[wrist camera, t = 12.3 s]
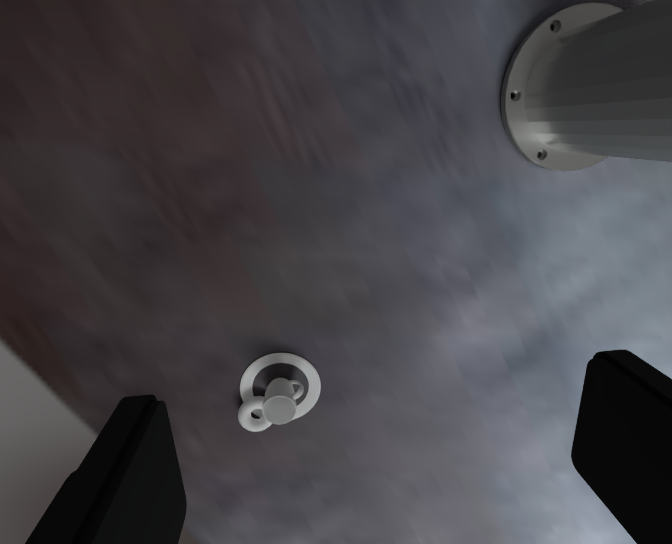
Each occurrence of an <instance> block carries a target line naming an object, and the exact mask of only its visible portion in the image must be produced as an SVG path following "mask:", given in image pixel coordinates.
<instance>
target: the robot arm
mask: <svg viewBox="0 0 672 544" xmlns="http://www.w3.org/2000/svg"><path fill="white" fill-rule="evenodd" d="M550 26H551V29H550ZM511 93H512V94H513V97H512V99H511ZM501 114H502V120H503V124H504V128H505V131H506V133H507V135H508V137H509V140H510V142H511V143H512V145H513V146H514V147H515V149H516V150H517V151H518V153H519V154H521V155H522V156H523V157H524V158H525V159H527V160H528V161H529V162H531V163H533V164H535V165H537V166H539V167H542V168H546V169H550V170H558V171H574V170H580V169H583V168H587V167H590V166H593V165H595V164H597V163H599V162H601V161H603V160H604V159H606V158H607V157H609V156H611V157H622V158H633V159H644V160H655V161H666V162H672V0H653V1H650V2H647V3H644V4H641V5H638V6H636V7H633V8H630V9H627V10H623V9H621V8H619V7H616V6H613V5H610V4H608V3H598V2H588V3H582V4H576V5H574V6H571V7H568V8H566V9H563V10H561V11H559V12H557V13H555V14H553V15H551V16H549V17H547V18H546V19H545V20H543V21H542V22H541V23H539V24H538V25H537V26H536V27H535V28H534V29H533V30H532V31H531V32H530V33H529V34H528V35H527V36H526V37H525V38H524V39H523V41H522V42H521V44H520V45H519V47H518V48H517V50H516V51H515V53H514V55H513V57H512V59H511V61H510V63H509V66H508V68H507V71H506V74H505V78H504V81H503V85H502V94H501ZM538 152H539V155H538V156H537V154H538ZM571 457H572V462H573V465H574V467H575V469H576V470H577V472H578V473H579V474H580V475H581V477H582V478H583V479H584V480H585V481H586V483H587V484H588V485H589V486H590V487H591V489H592V490H593V491H594V492H595V493H596V495H597V496H598V497H599V498H600V499H601V501H602V502H603V503H604V504H605V506H606V507H607V508H608V509H609V510H610V512H611V513H612V514H613V515H614V516H615V518H616V519H617V520H618V521H619V522H620V524H621V525H622V526H623V527H624V528H625V530H626V531H627V532H628V533H629V535H630V536H631V537H632V538H633V539H634V541H635V542H636V543H637V544H672V379H671V378H669V377H668V376H666V375H665V374H663V373H661V372H660V371H658V370H657V369H655V368H654V367H652V366H651V365H649V364H648V363H646V362H645V361H643V360H642V359H640V358H639V357H637V356H636V355H634V354H633V353H631V352H630V351H627V350H612V351H602V352H598V353H596V354H595V355H594V357H593V359H591V360H590V361H589V362H588V364H587V369H586V374H585V380H584V385H583V391H582V396H581V402H580V407H579V413H578V418H577V424H576V429H575V435H574V441H573V446H572V452H571ZM185 515H186V495H185V491H184V486H183V481H182V477H181V472H180V468H179V463H178V458H177V454H176V449H175V445H174V440H173V435H172V431H171V426H170V422H169V417H168V412H167V408H166V404H165V402H164V401H157V399H156V397H155V396H154V395H142V396H131V397H124V398H123V399H122V400H121V401H120V402H119V404H118V405H117V407H116V409H115V410H114V412H113V413H112V415H111V417H110V418H109V420H108V421H107V423H106V425H105V426H104V428H103V429H102V431H101V433H100V434H99V436H98V437H97V439H96V441H95V442H94V444H93V445H92V447H91V449H90V450H89V452H88V453H87V455H86V456H85V458H84V460H83V461H82V463H81V464H80V466H79V468H78V469H77V470H76V471H74V472H73V473H71V474H70V476H69V477H68V478H67V479H66V480H65V482H64V484H63V485H62V487H61V488H60V490H59V491H58V493H57V494H56V496H55V498H54V499H53V501H52V502H51V504H50V505H49V507H48V508H47V510H46V512H45V513H44V515H43V516H42V518H41V519H40V521H39V523H38V524H37V526H36V527H35V529H34V531H33V532H32V533H31V535H30V537H29V538H28V540H27V541H26V543H25V544H178V541H179V538H180V534H181V530H182V527H183V523H184V520H185Z"/></svg>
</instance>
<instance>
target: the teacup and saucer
mask: <svg viewBox="0 0 672 544" xmlns="http://www.w3.org/2000/svg"><path fill="white" fill-rule="evenodd" d="M275 363H288V364H291V365H294V366H296V367H298V368H299V369H301V370H302V371H303V372H304V373H305V375H306V377H307V379H308V382H309V391H308V394H307V396H306V398H305V399H304V401H303V402H302V403H301V404H299V405H298V406H297V407H296V399H297V398H299V397H300V396H301V395H302V393H303V391H304V387H303V385H302V384H301V383H300V382H299V381H297V380H290V381H289V380H287V379H285V378H276V379H274V380H272V381H271V382H270V384H269V385H268V387H267V389H266V392H265V396H264V397H263V396H254V395H253V391H252V384H253V380H254V378H255V376H256V375H257V374H258V372H259V371H260V370H262V369H263V368H265V367H266V366H268V365H271V364H275ZM292 384H299V385H300V388H299V389H298V391H297V392H296V393H295V392H294V389H293V386H292ZM320 390H321V382H320V378H319V375H318V373H317V371H316V369H315V368H314V367H313V366H312V364H311V363H309V362H308V361H307V360H305V359H304V358H302V357H300V356H297V355H294V354H290V353H273V354H268V355H265V356H263V357H261V358H259V359H257V360H256V361H254V362H253V363H252V364H251V365H250V366H249V367H248V368H247V369H246V370H245V372H244V374H243V376H242V378H241V382H240V394H241V397H242V400H243V402H244V403H243V404H242V405H241V406H240V409H239V412H238V419H239V422H240V424H241V425H242V426H243V427H244V428H245V429H247V430H249V431H255V432H256V431H262V430H264V429H266V428H268V427H269V426H270V425H271V424H272V423H273V424H285V423H287V422H289V421H291V420H293V419H296V418H298V417H300V416H302V415H304V414H305V413H307V412H308V411H309V410H310V409H311V408H312V407H313V406H314V405H315V403H316V402H317V400H318V398H319V395H320ZM251 412H252V413H254V414H255V415H257V416H258V417H261V418H259V419H254V418H252V417H251Z"/></svg>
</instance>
